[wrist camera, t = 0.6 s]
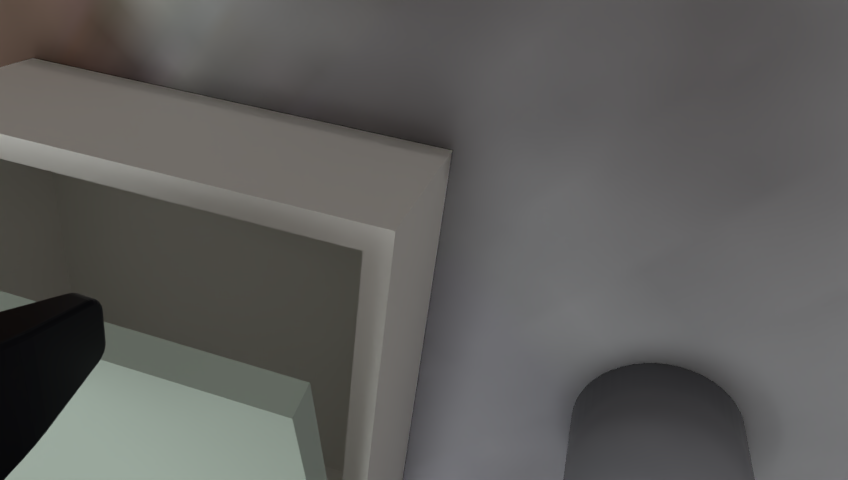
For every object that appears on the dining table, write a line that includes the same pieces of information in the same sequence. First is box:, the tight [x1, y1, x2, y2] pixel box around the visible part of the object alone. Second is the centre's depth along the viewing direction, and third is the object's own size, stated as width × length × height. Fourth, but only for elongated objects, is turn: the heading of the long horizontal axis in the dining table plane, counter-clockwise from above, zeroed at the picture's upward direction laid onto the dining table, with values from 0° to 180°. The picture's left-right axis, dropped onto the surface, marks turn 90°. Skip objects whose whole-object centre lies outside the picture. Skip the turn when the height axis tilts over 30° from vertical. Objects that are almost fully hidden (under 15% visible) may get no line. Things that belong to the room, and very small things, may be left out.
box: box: [0, 58, 452, 480], centre depth 25 cm, size 16×16×6 cm
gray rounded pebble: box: [563, 363, 755, 480], centre depth 23 cm, size 6×6×4 cm
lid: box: [0, 291, 327, 480], centre depth 20 cm, size 16×16×1 cm
